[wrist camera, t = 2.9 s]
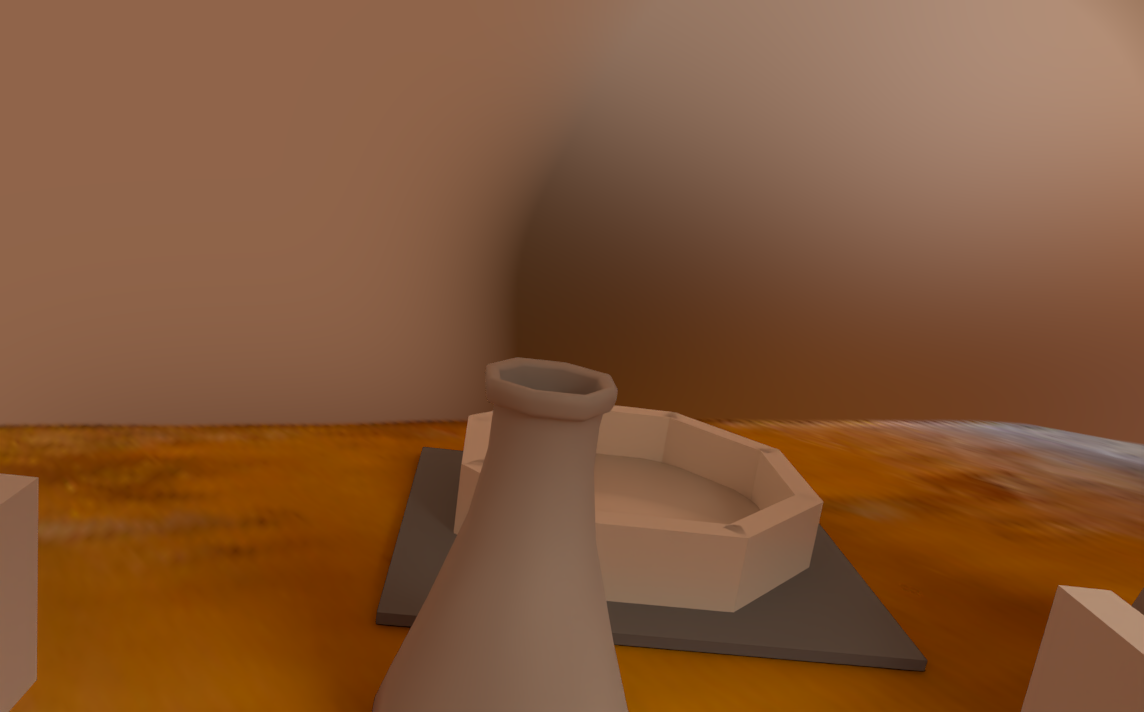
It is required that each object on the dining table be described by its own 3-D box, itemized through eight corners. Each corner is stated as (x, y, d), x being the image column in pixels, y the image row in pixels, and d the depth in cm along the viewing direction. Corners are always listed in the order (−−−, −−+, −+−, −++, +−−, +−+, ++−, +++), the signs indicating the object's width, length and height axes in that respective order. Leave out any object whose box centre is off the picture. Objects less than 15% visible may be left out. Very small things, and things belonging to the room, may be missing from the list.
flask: (305, 797, 20) (337, 381, 18) (424, 638, 27) (459, 323, 25) (612, 889, 19) (689, 452, 17) (656, 697, 26) (714, 370, 24)
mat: (787, 493, 44) (789, 485, 44) (924, 671, 29) (927, 660, 29) (422, 454, 42) (423, 446, 42) (375, 623, 28) (376, 611, 28)
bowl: (744, 473, 45) (755, 421, 44) (847, 623, 31) (864, 549, 30) (466, 444, 43) (472, 389, 43) (445, 586, 30) (454, 509, 29)
